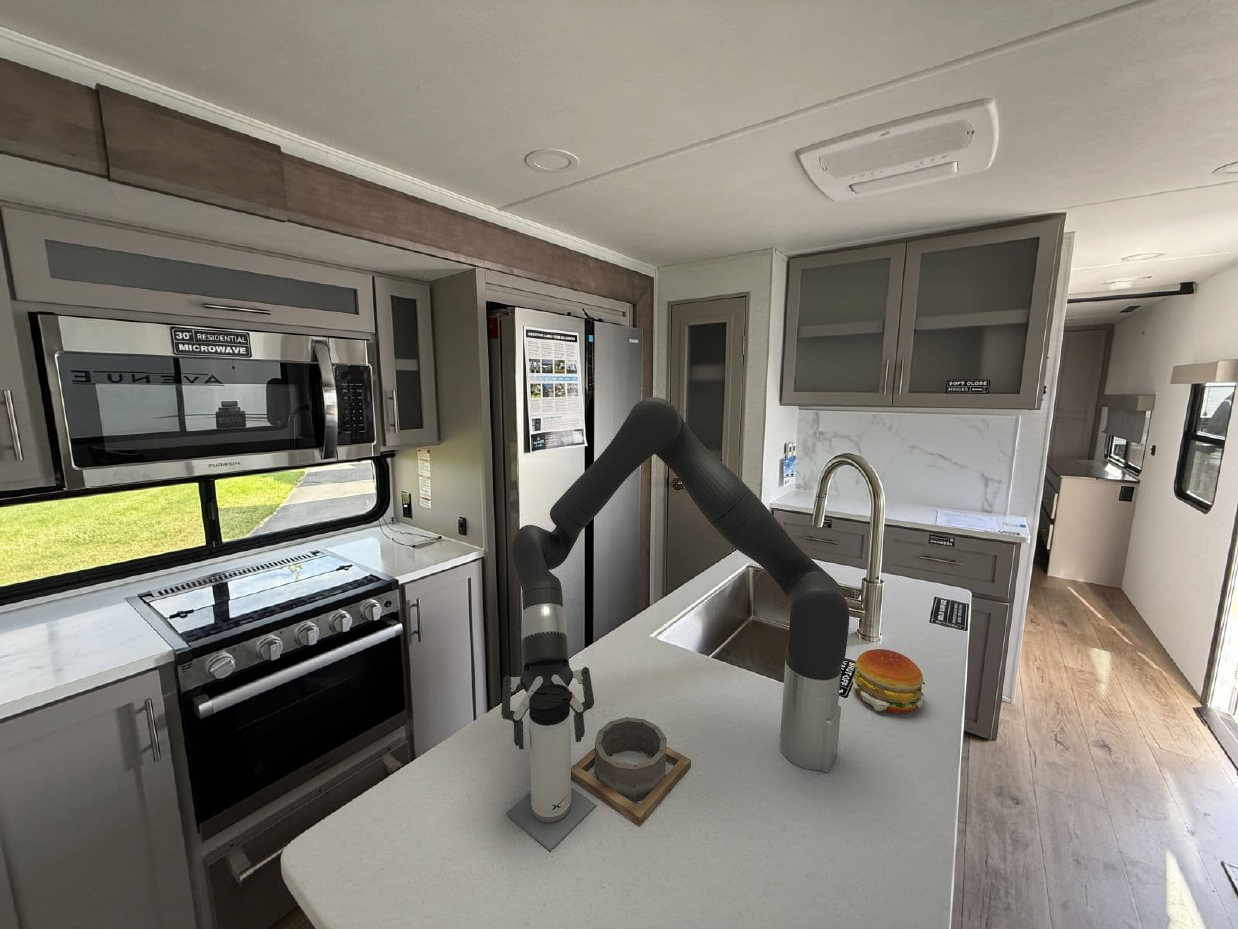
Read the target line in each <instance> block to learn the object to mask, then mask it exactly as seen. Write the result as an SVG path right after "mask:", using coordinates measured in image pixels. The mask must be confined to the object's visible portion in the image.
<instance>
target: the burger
mask: <svg viewBox="0 0 1238 929" xmlns="http://www.w3.org/2000/svg"><path fill="white" fill-rule="evenodd" d="M853 669H855V671H854V675H853V677H852V687H853V688H854V690H856V692H857V694H858V695H859V697H860V698H861V699H862V700H863V701H864V702H865V703H867V704H869V705H870V706H872V707H873V708H874V710H875V711H876V712H877V711H878V712H882V711H884V712H889V713H893V714H905V713H911V712H912V711H913V710H915V709H917V708H921V707H923V703H924V702H923V696H925V694H924V693H923V692H922V688H923V685H926V683H925V681H924V676H923V673H922V671H921V669H920V668H919V666H918V665H917V664H916V663H915V662H914V661H913V660H912V659H910V658H909V657H908V656H906V655H904V654H902V653H900V652H897V651H895V650H890V649H886V648H885V649H884V648H874V649H870V650H869V649H868V650H866V651H864V652H862V653H861V654H860V655H858V657H857V659H856V661H855V664H853Z"/></svg>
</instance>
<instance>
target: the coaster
mask: <svg viewBox="0 0 1238 929" xmlns="http://www.w3.org/2000/svg"><path fill="white" fill-rule="evenodd" d="M596 807H597V803H595V802H594V801H592V800H591V799H590V798H589V797H587V796H585V795H584V794H582V793H581V792H580V791H578V790H577V789H575V788H574V787H572V786H571V809H570V811H569V812H568V814H567V815H566V816H565V817H564V818H563V819H561V820H559V821H557V822H552V823H546V822H542V821H540V820H538V819H537V818H536V817H535V816H534V815H533V813H532V809H531V791H529V792H528V793H527V794H526V795H525V796H524V797H523V798H521V799H520V800H519V801H518V802H516V803H515V804H514V805H512V806H511V807H510V808H508V809H507V811H505V815H506V817H508V818H509V819H511V821H513V822H514V823H515V824H516V825H517V826H519V827H520V828H521V829H523V830H524V832H526V833H527V834H528V835H529V836H531V837H532V839H534V840H536V842H537V843H539V844H540V845H542V847H544V848H545V849H546V850H548V851H549V853H551V852H552V851H553V850H555V849H556V847H557V846H558V845H560V843H561V842H562V841H563V840H564V839H566V837H567V836H569V835H570V833H572V831H574V829H575V828H577V827H578V825H580V823H582V821H583V820H585V819H586V817H587V816H588V815H589V814H590V813H591V812H592V811H593V810H594V809H596Z"/></svg>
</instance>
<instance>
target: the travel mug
mask: <svg viewBox="0 0 1238 929" xmlns="http://www.w3.org/2000/svg"><path fill="white" fill-rule="evenodd" d="M568 688H569V687H568ZM568 688H567V687H566V686H564V685H561V684H550V685H545V686H543V687H540V688H538V689H537V690H536V691H534V694H532V695H531V697H530V699H529V709H528V727H529V729H528V732H529V733H528V734H529V769H530V770H529V772H530V773H529V774H530V792H531V809H532V813H533V815H534V816H535V817H536V818H537V819H538V820H540V821H542V822H546V823H552V822H557V821H559V820H561V819H563V818H564V817H565V816H566V815H567V814H568V812H569V811H570V809H571V787H572V779H571V767H572V754H571V753H572V748H571V745H572V744H571V741H572V740H571V735H572V734H571V733H572V732H571V729H572V728H571V708H570V701H571V700H572V693H573V691H571V692H570V691H569V689H570V688H569V689H568Z"/></svg>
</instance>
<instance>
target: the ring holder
mask: <svg viewBox="0 0 1238 929" xmlns="http://www.w3.org/2000/svg"><path fill="white" fill-rule="evenodd" d="M667 744H668V743H667V737H666V735H665V734H664V732H663V731H662V730H661V728H660V727H659V726H658V725H656V724H654V723H653V722H651V721H648V720H647V719H645V718H638V717H629V716H625V717H622V718H621V717H620V718H618V719H613V720H610V721H609V722H607V723H606V724H605V725H604V726H602V727H601V728H600V729H599V730H598V731H597V733H596V738H595V742H594V747H593V748H592V749H591V750H590V751H589V752H588V753H586V754H585V755H584V756H583V757H581V759H579V760H578V761H577V762H576V763H575V764H573V765H572V766H571V781H573V782H575V783H576V784H578V785H580V786H581V787H583V789H585V790H587V791H588V792H589V793H591V794H593V795H594V796H596V797H597V798H598V799H600V800H601V801H603V802H605V803H606V804H607V805H609V807H611V808H613V809H615V810H616V811H617V812H619V813H620V814H622V815H623V816H625V817H626V818H627V819H629V820H631V821H632V822H634V824H636V825H637V826H640V827H641V825H642V824H643V823H644V822H645V820H647V818H648V817H649V816H650V815H651V814H652V813H653V812H654V810H655V809H656V808H657V807H658V806H659V804H661V802H662V801H663V800H664V799H665V798H666V796H667V795H668V794H669V793H670V792H671V791H672V789H673V788H674V787H675V786H676V785H677V783H679V781H681V779H682V778H683V777H684V775H685V774H686V773H687V772H688V771H689V770H690V769H691V766H692V765H691V764H692V760H691V758H689V757H687V756H685V755H684V754H682V753H680V752H678V751H676V750H674V749H672V748H670V747H669V746H667ZM626 751H631V752H639V753H642V754H644V755H646V756H647V757H649V758H651V759H649V760H645V761H641V762H638V763H626V762H619V761H617V760H616V759H614V758H612V756H613V755H615V754H618V753H622V752H626ZM667 763H669V764H671V765H672V768H670V770H668V772H667V771H666V770H667ZM592 767H594V776H593V775H592V774H591V773H589V772H588V771H589V770H590V769H592ZM666 772H667V773H666ZM640 801H641V802H640ZM638 802H640V803H639V804H636V803H638Z"/></svg>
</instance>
